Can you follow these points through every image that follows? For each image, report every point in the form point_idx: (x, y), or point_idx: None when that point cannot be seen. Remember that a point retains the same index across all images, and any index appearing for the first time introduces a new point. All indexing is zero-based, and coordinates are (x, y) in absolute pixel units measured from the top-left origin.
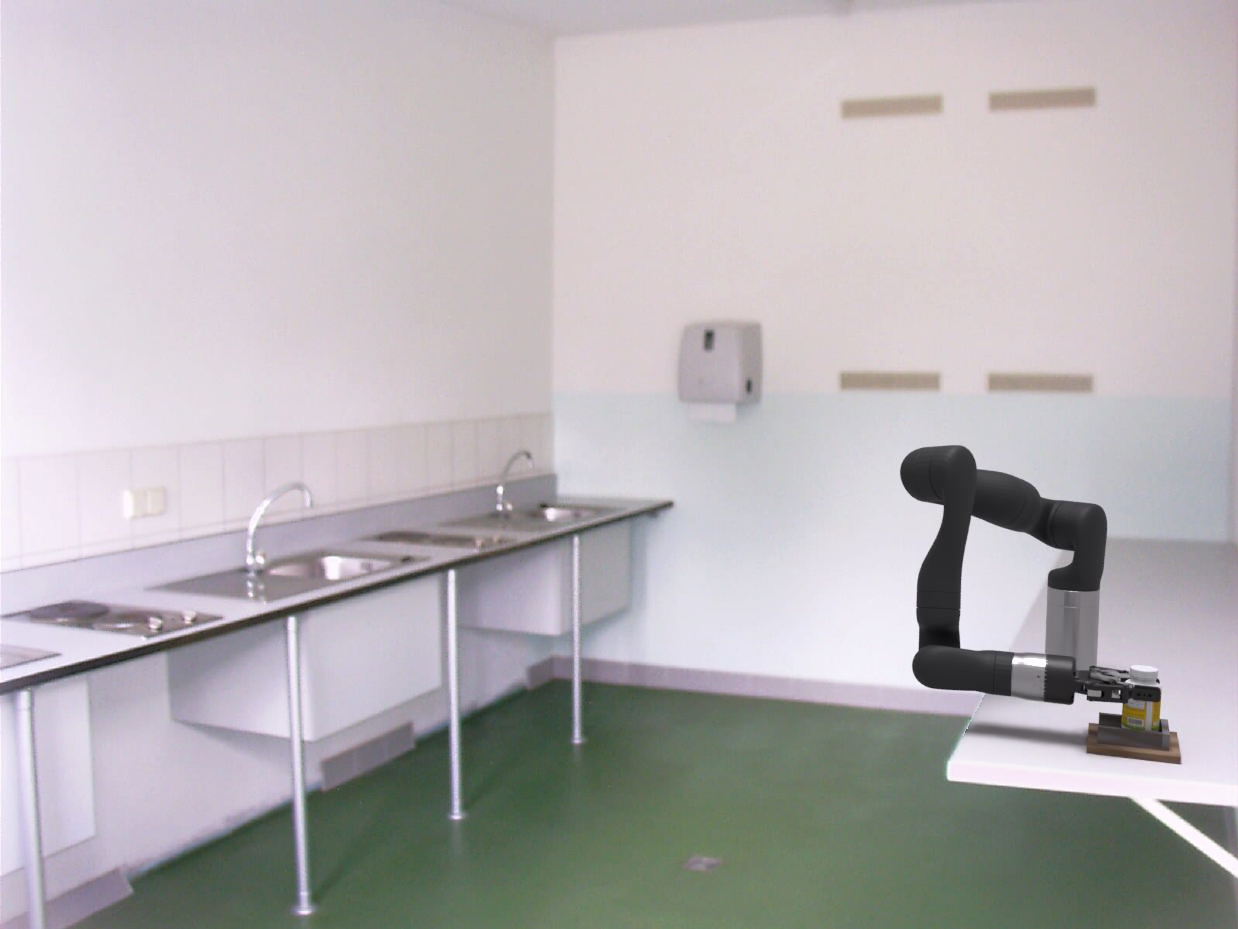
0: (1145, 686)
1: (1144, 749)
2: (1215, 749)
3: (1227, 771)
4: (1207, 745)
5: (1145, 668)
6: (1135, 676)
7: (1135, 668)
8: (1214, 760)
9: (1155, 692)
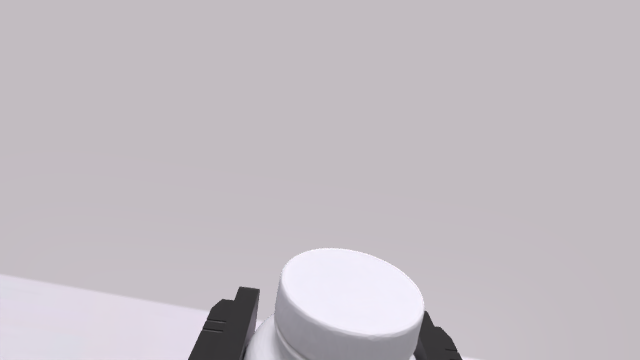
0: (442, 349)
1: None
2: None
3: None
4: None
5: (356, 278)
6: (412, 352)
7: (389, 315)
8: None
9: (442, 334)
